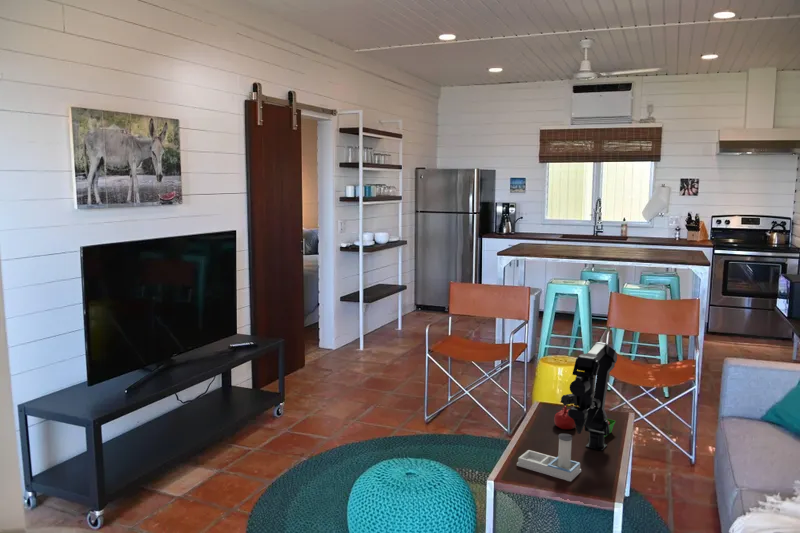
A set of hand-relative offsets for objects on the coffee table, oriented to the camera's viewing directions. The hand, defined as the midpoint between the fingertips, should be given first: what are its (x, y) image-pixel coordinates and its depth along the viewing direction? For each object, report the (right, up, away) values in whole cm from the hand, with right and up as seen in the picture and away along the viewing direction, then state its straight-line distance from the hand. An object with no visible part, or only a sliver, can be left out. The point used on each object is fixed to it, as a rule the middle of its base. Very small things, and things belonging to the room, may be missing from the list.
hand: (583, 429), depth 237 cm
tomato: (+3, -9, +37) cm, 38 cm away
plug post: (-9, -13, -6) cm, 17 cm away
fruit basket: (+16, -10, +30) cm, 35 cm away
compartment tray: (-14, -14, -3) cm, 19 cm away
